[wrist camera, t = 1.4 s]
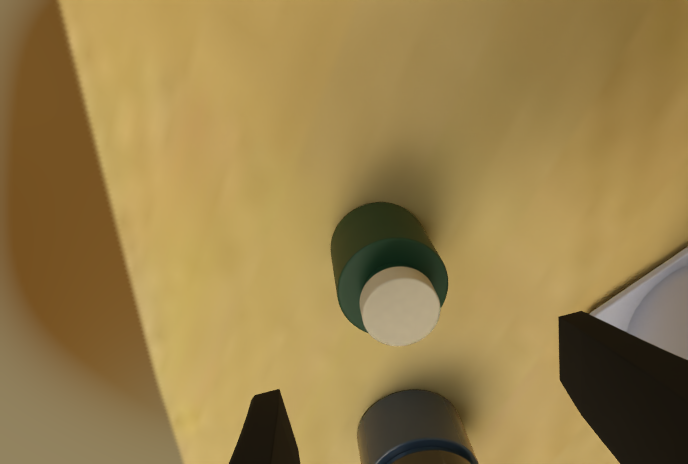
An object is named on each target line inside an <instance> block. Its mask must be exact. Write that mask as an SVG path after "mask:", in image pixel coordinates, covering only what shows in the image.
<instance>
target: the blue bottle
mask: <svg viewBox="0 0 688 464" xmlns="http://www.w3.org/2000/svg"><path fill="white" fill-rule="evenodd" d="M357 440H358V448H359V454H360V461H361V464H478V461H477V458H476V456H475V453H474V451H473V449H472V446H471V444H470V441H469V439H468V436H467V434H466V431H465V429H464V427H463V424H462V422H461V419H460V417H459V414H458V412H457V410H456V409H455V407H454V406H453V405H452V404H451V403H450V402H449V401H448V400H447V399H445V398H444V397H442V396H440V395H438V394H436V393H433V392H430V391H425V390H406V391H400V392H396V393H393V394H391V395H388V396H386V397H384V398H382V399H381V400H379V401H378V402H376V403H375V404H374V405H373V406H371V408H370V409H369V410H368V411H367V412H366V413H365V415H364V416H363V418H362V420H361V422H360V424H359V427H358V432H357Z"/></svg>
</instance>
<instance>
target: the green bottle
mask: <svg viewBox="0 0 688 464" xmlns="http://www.w3.org/2000/svg"><path fill="white" fill-rule="evenodd" d="M331 257H332V264H333V270H334V277H335V284H336V290H337V297H338V301H339V305H340V307H341V310H342V312H343V313H344V315H345V316H346V318H347V319H348V320H349V321H350V322H351V323H352V324H353V325H355V326H356V327H358V328H359V329H361V330H363V331H365V332H367V333H369V334H370V335H371V336H372V337H373V338H374V339H376V340H377V341H379V342H381V343H383V344H386V345H391V346H405V345H410V344H413V343H416V342H418V341H420V340H422V339H423V338H425V337H426V336H427V335H428V334H429V333H430V332H431V331H432V330H433V329H434V327H435V326H436V324H437V322H438V319H439V316H440V308H441V307H442V305H443V303H444V300H445V298H446V294H447V290H448V276H447V271H446V268H445V265H444V263H443V261H442V259H441V258H440V256H439V254H438V253H437V251H436V249H435V248H434V246H433V244H432V243H431V241H430V239H429V238H428V236H427V234H426V233H425V231H424V229H423V228H422V226H421V224H420V223H419V221H418V220H417V218H416V217H415V216H414V215H413V214H412V213H410V212H409V211H408V210H406V209H405V208H403V207H401V206H398V205H395V204H392V203H385V202H377V203H370V204H366V205H363V206H361V207H358V208H356V209H355V210H353V211H352V212H350V213H349V214H347V215H346V216H345V217H344V218H343V219H342V220H341V222H340V223H339V224H338V226H337V227H336V229H335V232H334V234H333V237H332V241H331Z"/></svg>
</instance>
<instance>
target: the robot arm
mask: <svg viewBox="0 0 688 464" xmlns="http://www.w3.org/2000/svg"><path fill="white" fill-rule="evenodd" d="M559 364H560V381H561V383H562V384H563V386H564V388H565V389H566V391H567V393H568V394H569V396H570V398H571V399H572V401H573V402H574V404H575V406H576V407H577V409H578V410H579V412H580V413H581V415H582V416H583V418H584V419H585V420H586V421H587V423H588V424H589V425H590V426H591V428H592V429H593V430H594V431H595V433H596V434H597V435H598V436H599V438H600V439H601V440H602V442H603V443H604V444H605V445H606V446H607V448H608V449H609V450H610V451H611V453H612V454H613V455H614V456H615V458H616V459H617V460H618V461H619V462H620V464H688V247H686V248H685V249H683V250H682V251H680V252H679V253H677V254H676V255H674V256H673V257H672V258H670V259H669V260H667V261H666V262H664V263H663V264H661V265H660V266H658V267H657V268H655V269H654V270H652V271H651V272H649V273H648V274H646V275H645V276H644V277H642V278H641V279H639V280H638V281H636V282H635V283H633V284H632V285H630V286H629V287H627V288H626V289H624V290H623V291H621V292H620V293H618V294H617V295H616V296H614V297H613V298H611V299H610V300H608V301H607V302H605V303H604V304H602V305H601V306H599V307H598V308H596V309H595V310H593V311H592V312H591V313H590V314H587V313H585V312H583V311H579V312H576V313H572V314H568V315H564V316H560V317H559ZM229 464H300V458H299V451H298V447H297V444H296V441H295V438H294V434H293V431H292V428H291V425H290V422H289V418H288V415H287V412H286V409H285V406H284V403H283V399H282V396H281V393H280V390H279V389H277V390H273V391H269V392H266V393H262V394H258V395H255V396H254V397H253V399H252V400H251V404H250V407H249V410H248V414H247V417H246V420H245V423H244V426H243V429H242V431H241V434H240V437H239V440H238V442H237V445H236V447H235V450H234V452H233V455H232V457H231V460H230V462H229Z"/></svg>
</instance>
